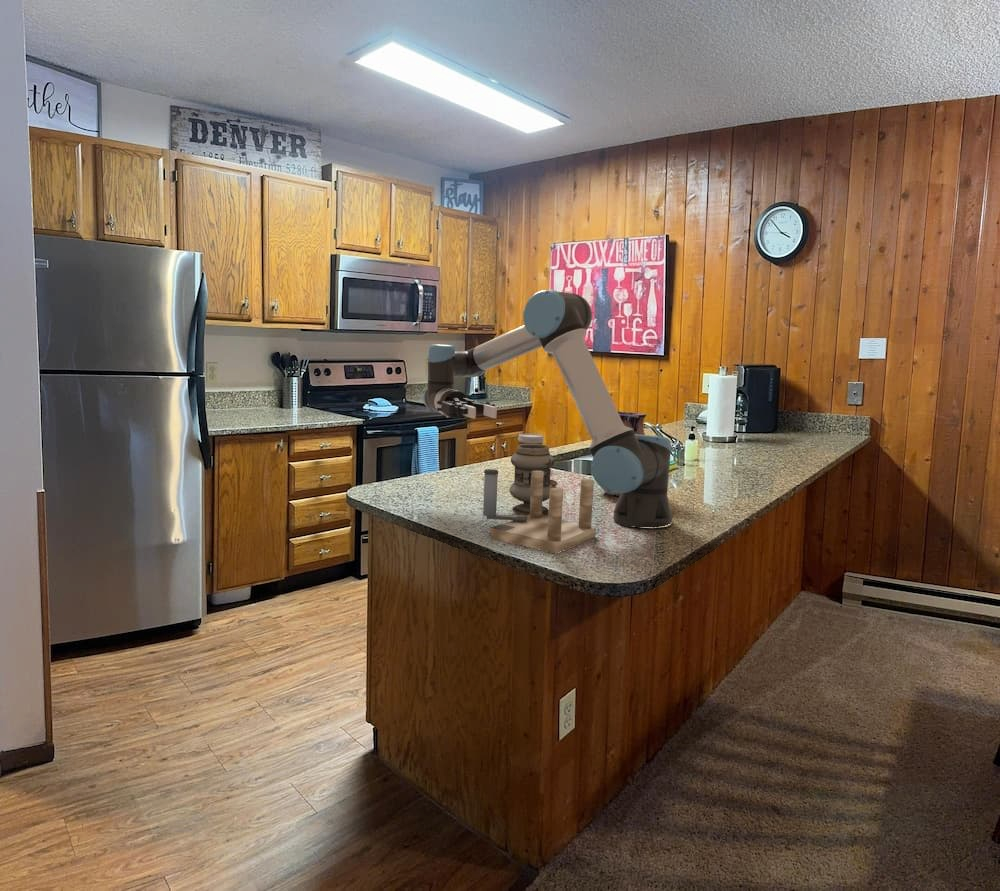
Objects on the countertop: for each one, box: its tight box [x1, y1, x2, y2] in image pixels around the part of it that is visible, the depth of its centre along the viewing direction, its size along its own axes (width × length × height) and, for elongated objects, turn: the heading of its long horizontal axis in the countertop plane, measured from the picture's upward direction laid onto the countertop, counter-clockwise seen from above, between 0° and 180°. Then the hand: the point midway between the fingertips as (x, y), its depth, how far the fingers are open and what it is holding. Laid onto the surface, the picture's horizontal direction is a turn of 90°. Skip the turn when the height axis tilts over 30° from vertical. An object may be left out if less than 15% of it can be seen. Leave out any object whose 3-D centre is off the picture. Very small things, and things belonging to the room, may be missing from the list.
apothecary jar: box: [508, 444, 555, 516], centre depth 192 cm, size 12×12×18 cm
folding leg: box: [482, 468, 528, 521], centre depth 172 cm, size 11×3×12 cm, turn 84°
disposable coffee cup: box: [517, 433, 545, 445], centre depth 254 cm, size 10×10×12 cm
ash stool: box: [490, 470, 597, 554], centre depth 167 cm, size 18×18×14 cm
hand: (484, 412), depth 174 cm, fingers open, 5 cm apart
